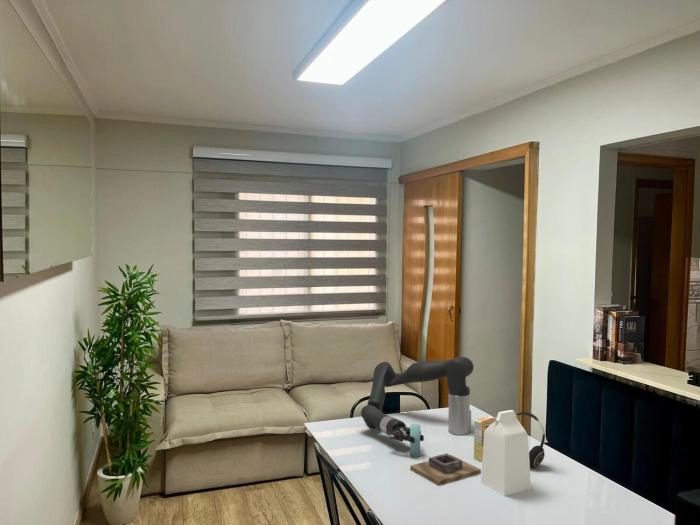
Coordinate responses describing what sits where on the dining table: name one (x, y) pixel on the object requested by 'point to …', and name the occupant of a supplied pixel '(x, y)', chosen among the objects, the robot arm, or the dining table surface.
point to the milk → (506, 455)
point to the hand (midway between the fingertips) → (418, 439)
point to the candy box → (480, 435)
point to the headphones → (536, 452)
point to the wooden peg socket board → (445, 469)
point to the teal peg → (415, 440)
